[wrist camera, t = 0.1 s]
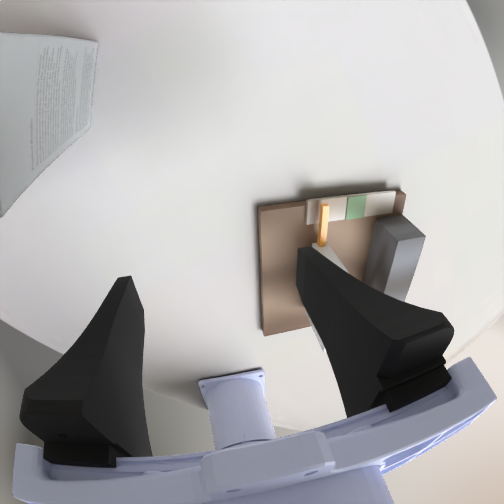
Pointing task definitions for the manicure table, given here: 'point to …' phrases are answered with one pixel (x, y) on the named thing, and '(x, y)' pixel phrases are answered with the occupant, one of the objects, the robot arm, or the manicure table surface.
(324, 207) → the paddle
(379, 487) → the robot arm
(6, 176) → the skincare box
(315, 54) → the manicure table surface
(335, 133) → the manicure table surface
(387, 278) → the gauge frame
